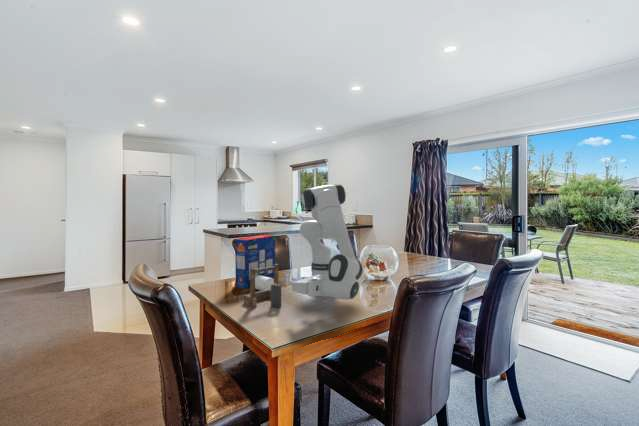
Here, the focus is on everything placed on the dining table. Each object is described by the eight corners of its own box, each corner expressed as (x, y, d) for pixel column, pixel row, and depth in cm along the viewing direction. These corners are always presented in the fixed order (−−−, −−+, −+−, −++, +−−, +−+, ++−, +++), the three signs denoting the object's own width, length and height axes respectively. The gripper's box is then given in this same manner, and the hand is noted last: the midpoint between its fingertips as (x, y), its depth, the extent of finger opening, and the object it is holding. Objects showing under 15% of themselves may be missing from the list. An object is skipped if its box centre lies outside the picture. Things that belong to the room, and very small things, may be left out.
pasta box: (265, 277, 209) (265, 234, 207) (275, 278, 205) (275, 235, 204) (235, 287, 184) (235, 239, 182) (246, 289, 180) (246, 240, 179)
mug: (264, 294, 171) (264, 279, 171) (252, 290, 178) (252, 276, 177) (280, 289, 180) (280, 275, 180) (269, 286, 187) (269, 272, 186)
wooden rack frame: (279, 299, 161) (279, 264, 161) (253, 307, 150) (253, 269, 149) (269, 296, 167) (269, 262, 166) (244, 303, 156) (243, 266, 155)
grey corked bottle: (282, 304, 154) (282, 282, 154) (279, 308, 149) (279, 285, 149) (272, 304, 155) (272, 282, 154) (269, 307, 150) (269, 284, 150)
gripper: (334, 273, 146) (309, 269, 153) (309, 282, 129) (282, 277, 136) (334, 287, 146) (309, 282, 154) (309, 297, 129) (282, 292, 136)
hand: (296, 280), depth 145 cm, fingers open, 8 cm apart
